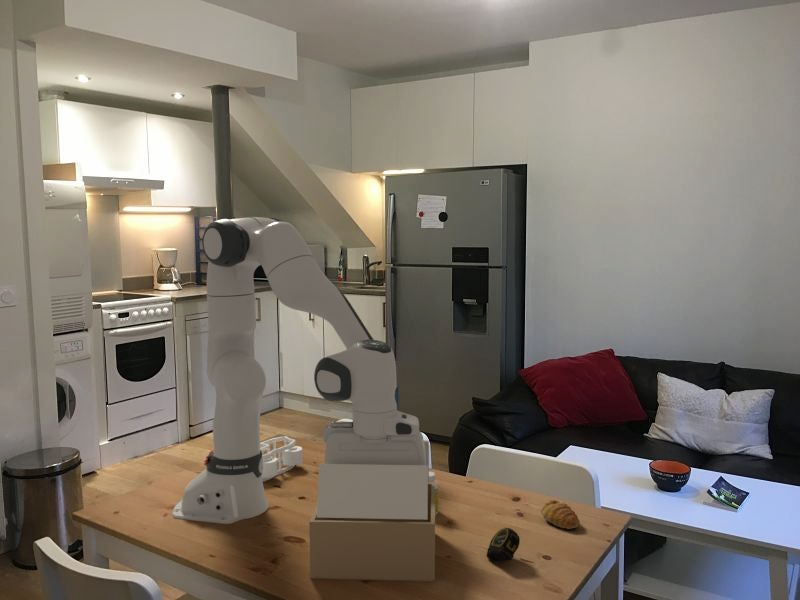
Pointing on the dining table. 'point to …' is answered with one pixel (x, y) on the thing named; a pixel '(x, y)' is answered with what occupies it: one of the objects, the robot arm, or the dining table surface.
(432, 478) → the supplement bottle
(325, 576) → the carton
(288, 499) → the dining table surface
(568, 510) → the pastry
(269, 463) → the wheeled car silhouette
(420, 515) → the near flap
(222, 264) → the robot arm
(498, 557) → the tape measure
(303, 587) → the dining table surface
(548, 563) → the dining table surface
